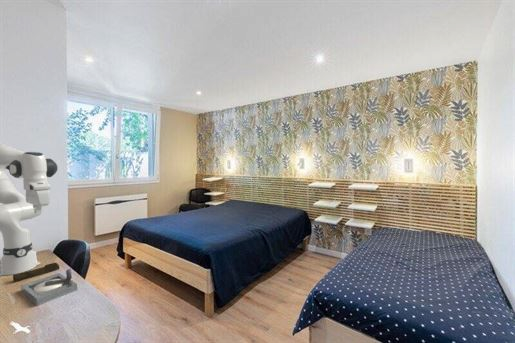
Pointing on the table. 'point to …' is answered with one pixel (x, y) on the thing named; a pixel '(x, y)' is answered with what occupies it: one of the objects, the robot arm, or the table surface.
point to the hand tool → (36, 272)
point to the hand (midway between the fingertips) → (37, 213)
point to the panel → (49, 295)
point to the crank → (52, 283)
